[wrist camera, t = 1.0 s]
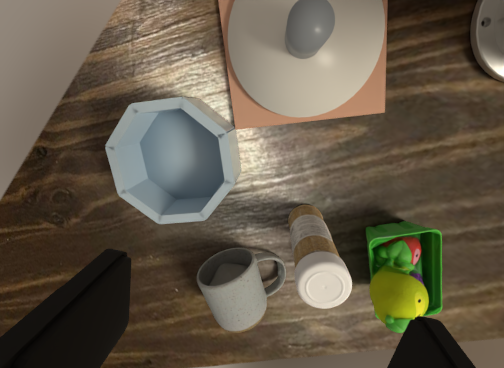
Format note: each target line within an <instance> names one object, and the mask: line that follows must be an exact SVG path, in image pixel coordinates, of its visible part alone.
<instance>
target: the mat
mask: <svg viewBox="0 0 504 368" xmlns="http://www.w3.org/2000/svg"><path fill="white" fill-rule="evenodd" d="M234 1H235V0H218V2H219V9H220V17H221V24H222V32H223V40H224V47H225V55H226V62H227V70H228V77H229V85H230V92H231V100H232V107H233V115H234V122H235V130H236V129H245V128H254V127H262V126H271V125H280V124H288V123H297V122H306V121H315V120H323V119H332V118H341V117H349V116H358V115H367V114H376V113H384V112H385V83H386V43H387V3H388V0H382V2H383V8H384V14H385V31H384V40H383V45H382V49H381V52H380V55H379V58H378V61H377V63H376V65H375V68H374V70H373V71H372V73H371V75H370V76H369V78H368V80H367V81H366V82H365V84H364V85H363V86H362V87H361V89H360V90H359V91H358V92H357V93H356V94H355V95H354V96H353V97H351V98H350V99H349V100H348V101H346V102H345V103H344V104H342V105H341V106H339V107H337V108H336V109H333V110H331V111H329V112H327V113H324V114H321V115H317V116H312V117H300V118H298V117H288V116H284V115H280V114H277V113H275V112H272V111H270V110H268V109H266V108H264V107H263V106H261V105H260V104H259V103H257V102H256V101H255V100H254V99H253V98H252V97H251V96H250V95H249V94H248V93H247V92H246V91H245V89H244V88H243V87H242V85H241V83H240V82H239V80H238V78H237V76H236V74H235V72H234V70H233V66H232V63H231V60H230V55H229V50H228V24H229V18H230V14H231V10H232V7H233V4H234Z"/></svg>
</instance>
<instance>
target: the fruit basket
mask: <svg viewBox="0 0 504 368" xmlns="http://www.w3.org/2000/svg"><path fill="white" fill-rule="evenodd" d="M366 238H367V242H368V243H367V249H368V256H369V269H370V274H371V275H370V279H371V283H370V297H371V300H372V303H373V305H374V310H375V315H376V317H377V318H378V319H380V320H381V321H382V322H383V323H384V324H385V325H386V327H387V328H388V329H390V330H391V331H394V332H397V333H402V332H404V331H405V330H406V327H407V325H408V323H409V322H410V320H414V319H415V317H417V316H428V315H433V314H437V313H439V312H440V311H441V310H442V234H441V232H440V231H439V230H436V229H432V228H425V227H422V226H419V225H416V224H413V223H410V222H406V221H403V222H400V223H399V224H397V223H390V224H383V225H378V226H376V227H366Z"/></svg>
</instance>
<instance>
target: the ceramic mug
mask: <svg viewBox="0 0 504 368" xmlns="http://www.w3.org/2000/svg"><path fill="white" fill-rule="evenodd" d="M270 259H272V260H275V261H277V266H278V277H277V279H276V280H275V282H273V283H272V284H271V285H270V286H268V287H266V288H265V289H264V286H263V284H262V280H261V276H260V273H259V269H258V265H257V263H258V262H259V261H262V260H270ZM285 278H286V268H285V265H284V262H283V261H282V260H281V259H280V258H279V257H278V256H277V255H276V254H273V253H270V252H264V253H258V254H255V255H254V254H253V252H252V251H251V250H249V249H247V248H241V247H240V248H230V249H226V250H223V251H221V252H218V253H217V254H215V255H213V256H212V257H210V258H209V259H208V260H206V261H205V262H204V263H203V265H202V266H201V267H200V269H199V271H198V273H197V283H198V285H199V287H200V289H201V291H202V293H203V295H204V297H205V299H206V301H207V303H208V305H209V307H210V309H211V311H212V313H213V316H214V317H215V319H216V321H217V322H218V323H219V325H220V326H221V327H222V328H223V329H225V330H226V331H229V332H234V333H238V332H243V331H246V330H249V329H251V328H253V327H254V326H255V325H257V324H258V323H259V322H260V320H261V319H262V318H263V316H264V314H265V312H266V308H267V300H266V298H267V296H270V295H272V294H274V293H275V292H277V291H278V290H279V289H280V288H281V287H282V285H283V283H284V281H285Z"/></svg>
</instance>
